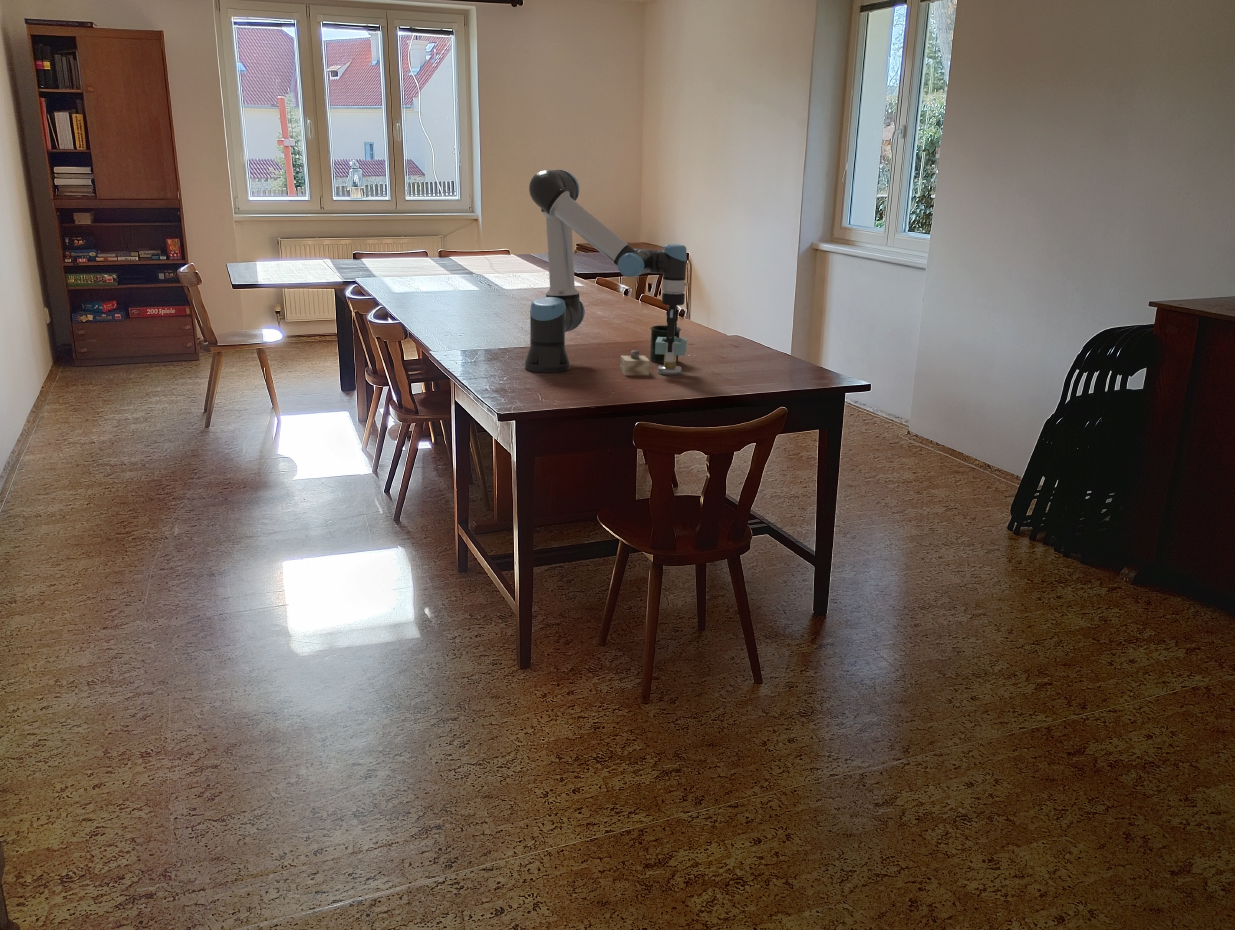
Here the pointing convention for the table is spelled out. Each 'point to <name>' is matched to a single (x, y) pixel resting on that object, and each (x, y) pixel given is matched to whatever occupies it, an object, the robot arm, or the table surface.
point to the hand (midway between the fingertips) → (670, 358)
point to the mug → (655, 333)
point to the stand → (634, 364)
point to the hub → (669, 368)
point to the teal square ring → (679, 346)
